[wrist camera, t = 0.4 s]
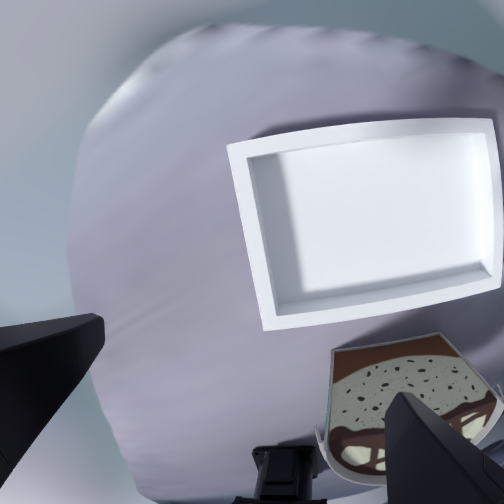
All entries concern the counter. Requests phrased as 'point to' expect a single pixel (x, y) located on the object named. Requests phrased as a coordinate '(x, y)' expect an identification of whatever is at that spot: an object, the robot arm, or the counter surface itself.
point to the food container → (384, 390)
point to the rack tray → (370, 217)
